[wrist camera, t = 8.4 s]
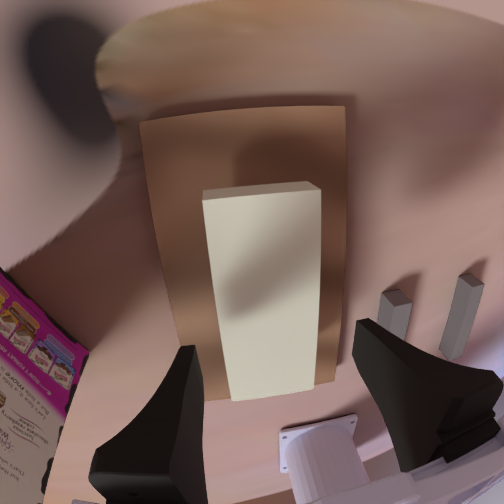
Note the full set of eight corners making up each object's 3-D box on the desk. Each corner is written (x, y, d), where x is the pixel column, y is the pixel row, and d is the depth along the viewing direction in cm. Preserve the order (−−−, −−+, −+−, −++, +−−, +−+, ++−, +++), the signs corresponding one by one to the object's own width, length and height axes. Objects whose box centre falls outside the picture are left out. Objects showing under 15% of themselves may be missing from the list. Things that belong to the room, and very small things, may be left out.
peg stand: (329, 371, 25) (342, 398, 22) (196, 390, 24) (196, 421, 21) (337, 106, 17) (360, 105, 14) (143, 121, 16) (129, 122, 13)
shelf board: (203, 190, 15) (202, 200, 13) (307, 181, 15) (321, 189, 13) (229, 378, 19) (231, 401, 18) (305, 367, 20) (313, 389, 18)
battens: (450, 344, 26) (461, 356, 24) (368, 370, 25) (377, 385, 24) (470, 273, 23) (484, 284, 21) (381, 292, 22) (394, 306, 20)
